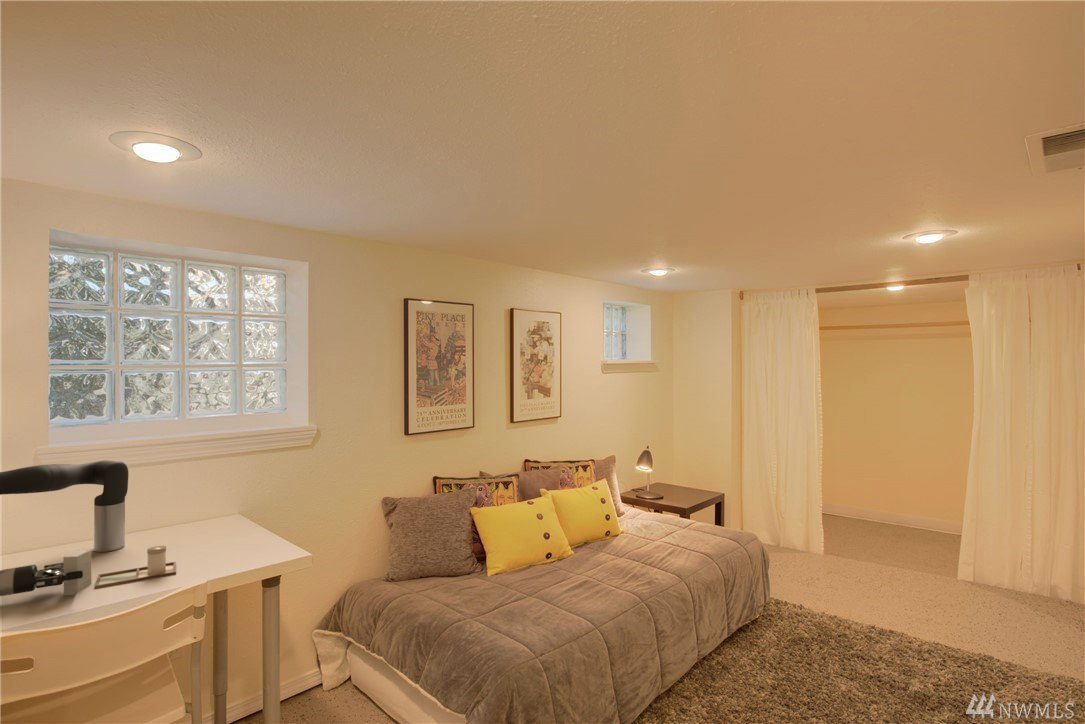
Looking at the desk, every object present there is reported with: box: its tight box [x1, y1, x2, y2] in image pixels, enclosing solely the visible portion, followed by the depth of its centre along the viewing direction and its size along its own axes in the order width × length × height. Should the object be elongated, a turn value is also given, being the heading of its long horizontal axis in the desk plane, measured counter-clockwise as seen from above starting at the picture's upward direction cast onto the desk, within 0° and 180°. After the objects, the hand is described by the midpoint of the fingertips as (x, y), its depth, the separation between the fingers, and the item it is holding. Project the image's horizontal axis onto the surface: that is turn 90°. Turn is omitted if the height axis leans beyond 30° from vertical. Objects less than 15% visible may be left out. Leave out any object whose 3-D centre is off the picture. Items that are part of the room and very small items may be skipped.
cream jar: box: [146, 545, 167, 575], centre depth 185 cm, size 5×5×8 cm
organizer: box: [94, 561, 177, 589], centre depth 183 cm, size 11×21×2 cm, turn 124°
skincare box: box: [62, 549, 93, 596], centre depth 172 cm, size 6×4×12 cm
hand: (84, 569), depth 173 cm, fingers open, 8 cm apart
